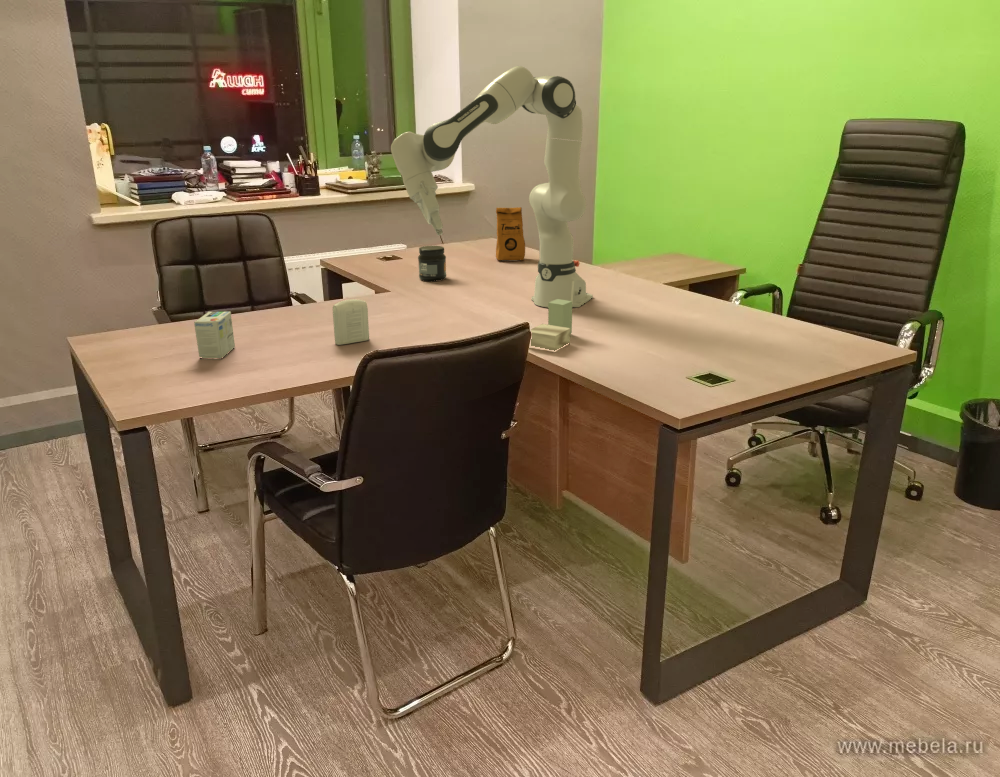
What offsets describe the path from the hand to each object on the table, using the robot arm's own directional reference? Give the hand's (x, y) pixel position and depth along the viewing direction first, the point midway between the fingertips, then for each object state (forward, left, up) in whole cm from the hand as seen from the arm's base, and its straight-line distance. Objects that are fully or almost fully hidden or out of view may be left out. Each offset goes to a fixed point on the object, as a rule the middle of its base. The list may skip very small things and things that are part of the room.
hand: (440, 231), depth 238 cm
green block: (-12, +34, -29) cm, 46 cm away
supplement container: (-49, -46, -29) cm, 74 cm away
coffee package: (-95, -42, -29) cm, 108 cm away
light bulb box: (+56, -35, -29) cm, 72 cm away
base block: (-1, +37, -29) cm, 47 cm away
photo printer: (+27, -12, -29) cm, 41 cm away
